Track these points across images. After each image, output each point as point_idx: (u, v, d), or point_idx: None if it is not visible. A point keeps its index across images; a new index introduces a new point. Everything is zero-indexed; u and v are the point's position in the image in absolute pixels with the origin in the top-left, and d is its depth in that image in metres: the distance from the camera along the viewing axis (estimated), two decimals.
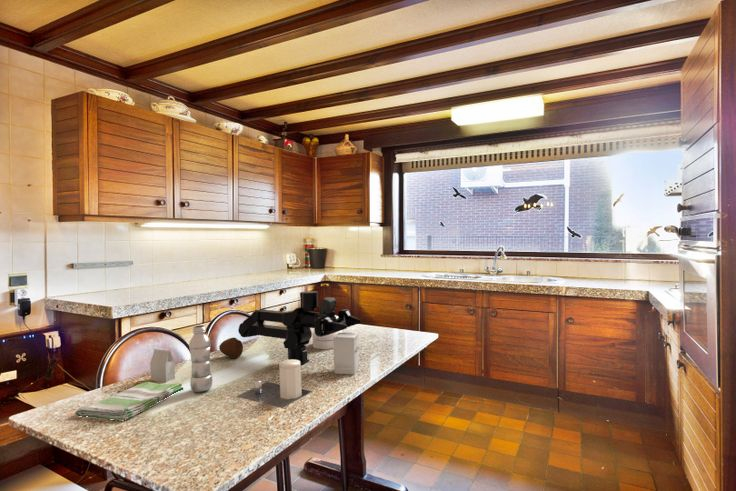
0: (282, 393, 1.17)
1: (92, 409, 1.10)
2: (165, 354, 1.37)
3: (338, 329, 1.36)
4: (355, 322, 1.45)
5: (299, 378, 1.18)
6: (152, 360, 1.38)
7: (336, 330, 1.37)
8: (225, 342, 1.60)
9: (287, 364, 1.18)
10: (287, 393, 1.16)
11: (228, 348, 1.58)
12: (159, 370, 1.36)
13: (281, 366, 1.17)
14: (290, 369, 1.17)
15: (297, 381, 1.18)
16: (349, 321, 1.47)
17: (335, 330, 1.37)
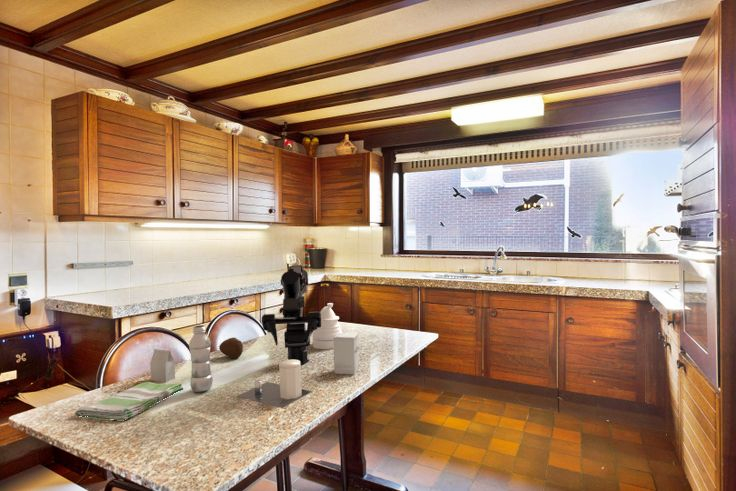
0: (282, 393, 1.17)
1: (92, 409, 1.10)
2: (165, 354, 1.37)
3: (274, 339, 1.29)
4: (306, 337, 1.30)
5: (299, 378, 1.18)
6: (152, 360, 1.38)
7: (273, 337, 1.30)
8: (225, 342, 1.60)
9: (287, 364, 1.18)
10: (287, 393, 1.16)
11: (228, 348, 1.58)
12: (159, 370, 1.36)
13: (281, 366, 1.17)
14: (290, 369, 1.17)
15: (297, 381, 1.18)
16: None
17: (273, 336, 1.30)
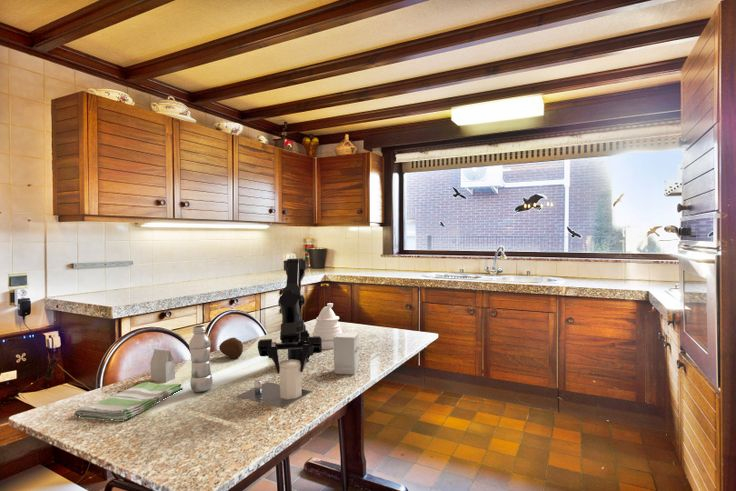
0: (282, 393, 1.17)
1: (91, 409, 1.09)
2: (165, 354, 1.37)
3: None
4: None
5: (299, 378, 1.18)
6: (152, 360, 1.38)
7: None
8: (225, 342, 1.60)
9: (287, 364, 1.18)
10: (287, 393, 1.16)
11: (228, 348, 1.58)
12: (159, 370, 1.36)
13: (281, 366, 1.17)
14: (290, 369, 1.17)
15: (297, 381, 1.18)
16: None
17: (274, 363, 1.21)
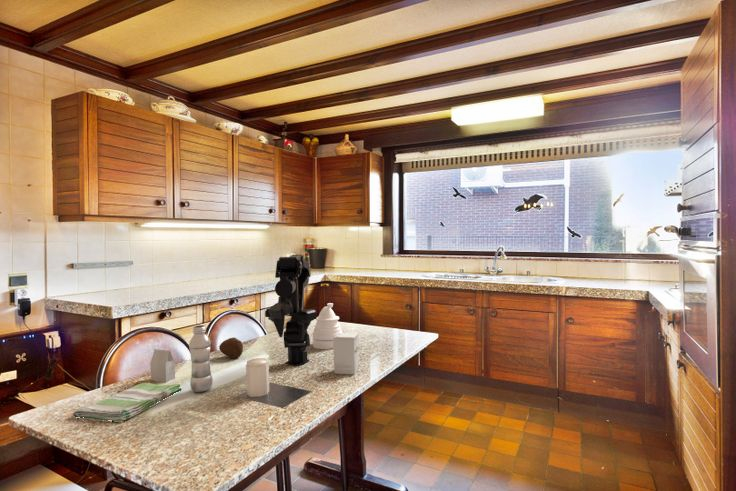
0: (248, 390, 1.20)
1: (90, 410, 1.09)
2: (165, 354, 1.37)
3: None
4: None
5: (264, 377, 1.20)
6: (152, 360, 1.38)
7: None
8: (225, 342, 1.60)
9: (252, 362, 1.20)
10: (251, 390, 1.19)
11: (228, 348, 1.58)
12: (159, 370, 1.36)
13: (247, 364, 1.20)
14: (253, 367, 1.19)
15: (261, 380, 1.19)
16: None
17: None
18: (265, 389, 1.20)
